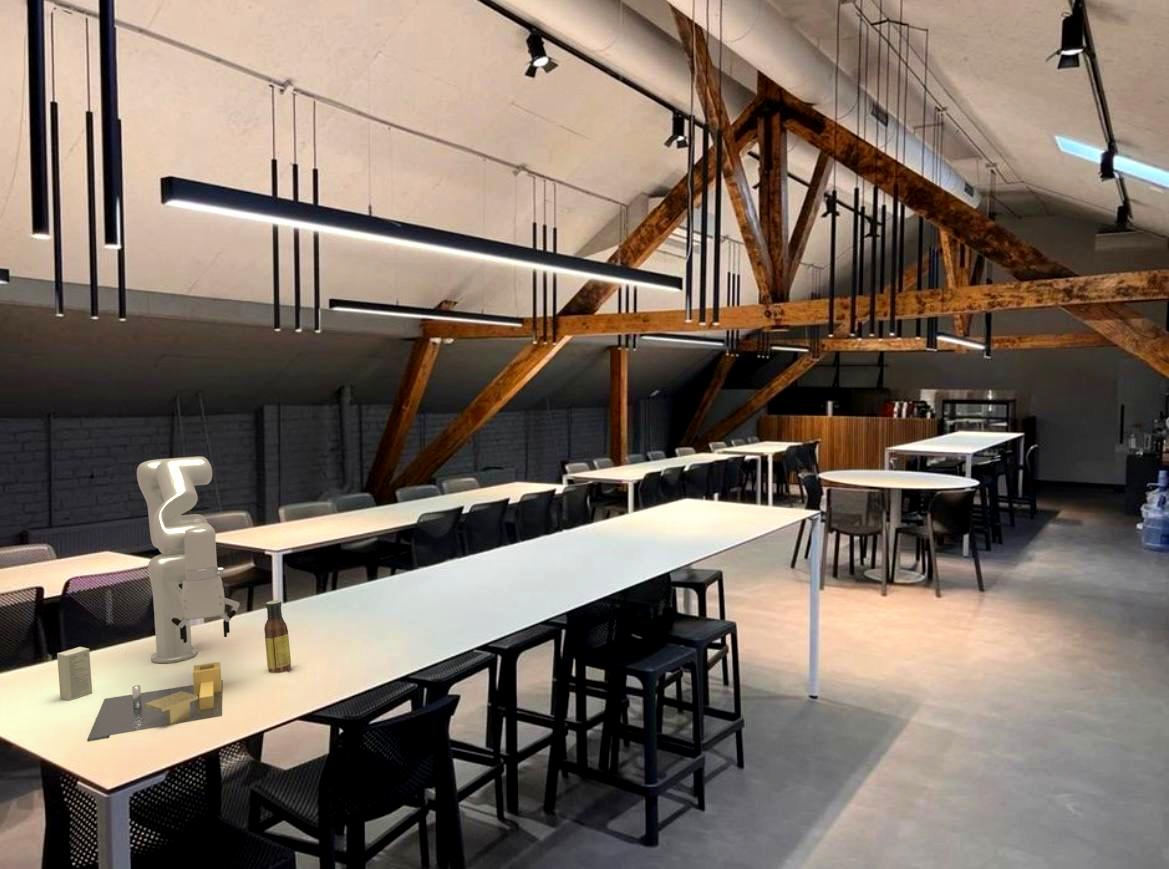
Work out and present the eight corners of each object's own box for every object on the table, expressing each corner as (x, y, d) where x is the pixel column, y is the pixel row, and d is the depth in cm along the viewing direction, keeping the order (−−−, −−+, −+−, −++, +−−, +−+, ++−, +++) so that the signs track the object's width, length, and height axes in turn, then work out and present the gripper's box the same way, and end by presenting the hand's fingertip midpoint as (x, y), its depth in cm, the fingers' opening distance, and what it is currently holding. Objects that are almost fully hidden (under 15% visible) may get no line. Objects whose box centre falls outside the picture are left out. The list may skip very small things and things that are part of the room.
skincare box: (83, 690, 218) (80, 646, 217) (93, 693, 216) (90, 648, 215) (59, 698, 212) (56, 653, 212) (68, 701, 210) (65, 655, 210)
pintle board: (104, 700, 210) (103, 678, 210) (222, 682, 221) (221, 661, 221) (86, 743, 183) (85, 718, 183) (222, 719, 194) (220, 696, 194)
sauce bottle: (294, 666, 232) (290, 598, 231) (287, 674, 226) (283, 603, 225) (271, 667, 232) (267, 599, 231) (263, 675, 225) (259, 604, 224)
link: (195, 687, 216) (193, 665, 215) (221, 683, 218) (220, 661, 218) (192, 711, 199) (191, 687, 199) (220, 706, 202) (219, 682, 201)
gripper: (237, 568, 219) (241, 630, 220) (165, 575, 213) (169, 640, 213) (237, 572, 213) (241, 637, 213) (163, 581, 206) (167, 647, 206)
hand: (205, 638), depth 213 cm, fingers open, 9 cm apart
